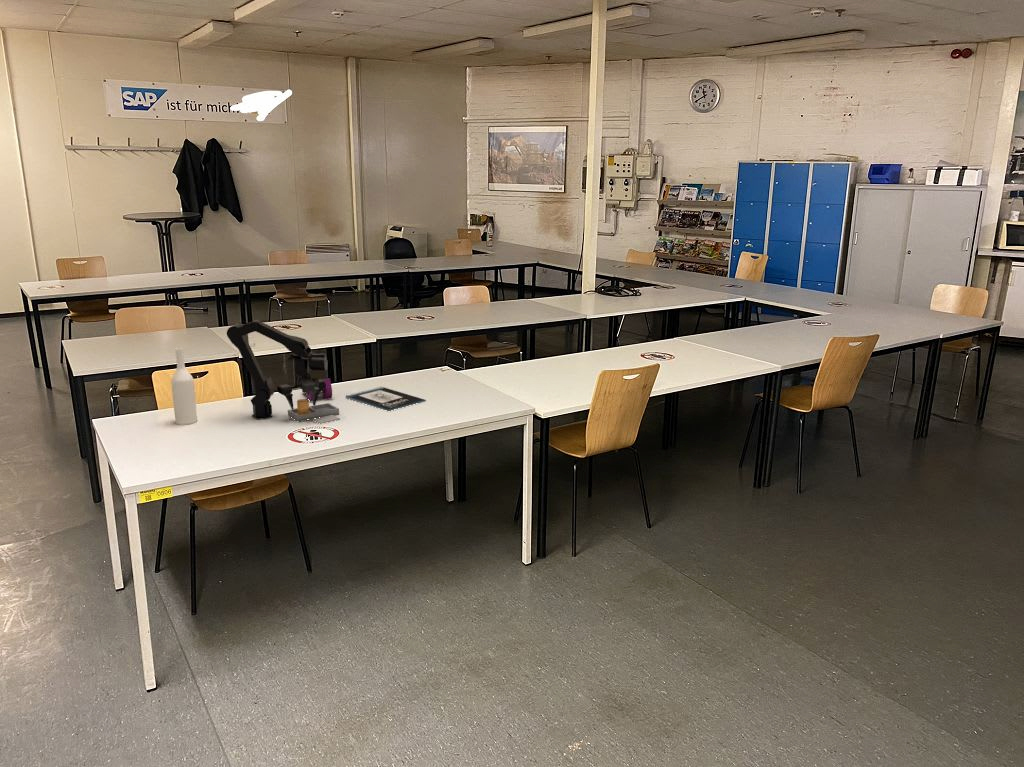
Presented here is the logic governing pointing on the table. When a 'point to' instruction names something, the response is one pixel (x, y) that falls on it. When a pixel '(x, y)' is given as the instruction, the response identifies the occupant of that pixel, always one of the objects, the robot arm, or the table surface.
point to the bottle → (183, 393)
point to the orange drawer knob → (302, 406)
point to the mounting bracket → (326, 392)
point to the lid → (326, 419)
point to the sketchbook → (385, 398)
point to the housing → (315, 412)
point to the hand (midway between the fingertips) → (303, 407)
